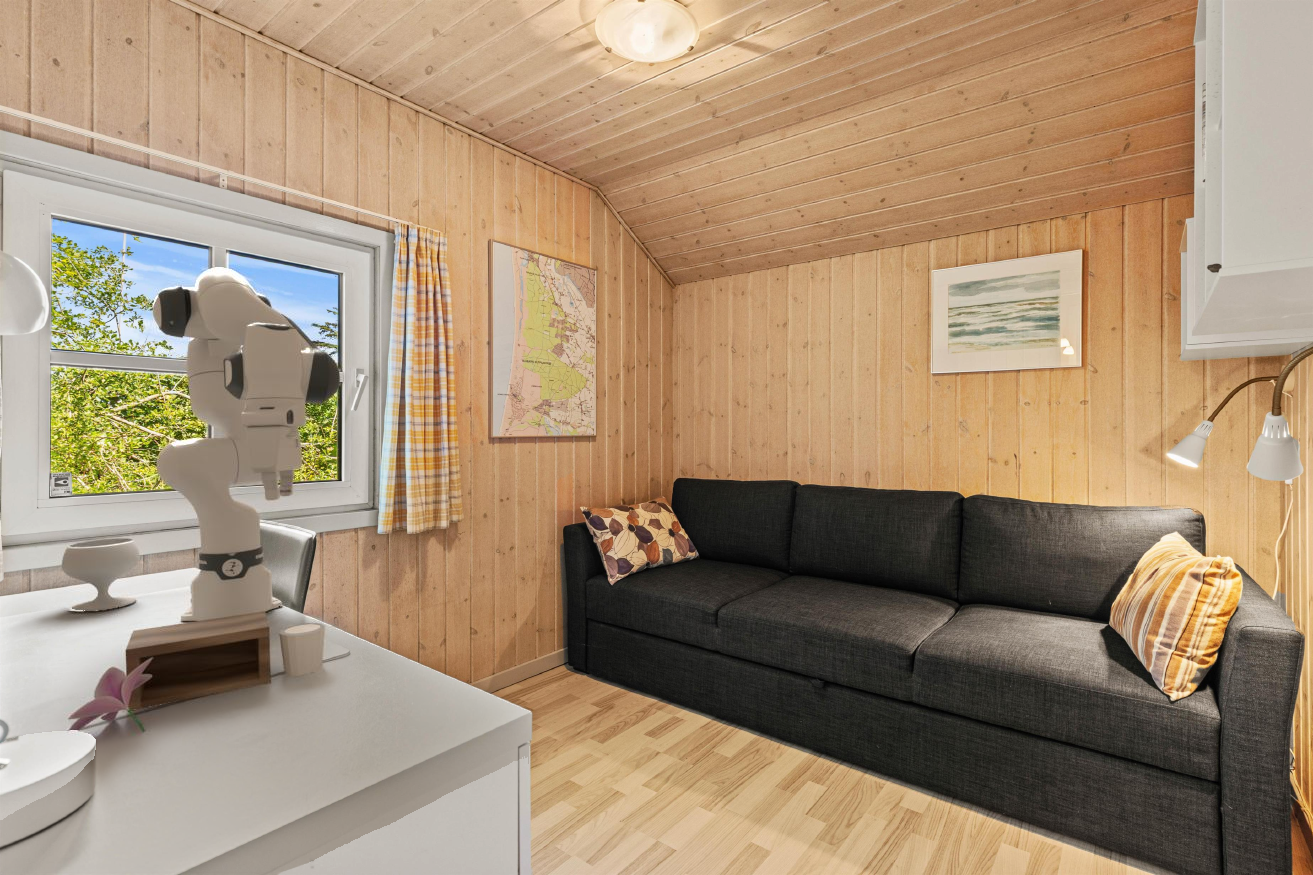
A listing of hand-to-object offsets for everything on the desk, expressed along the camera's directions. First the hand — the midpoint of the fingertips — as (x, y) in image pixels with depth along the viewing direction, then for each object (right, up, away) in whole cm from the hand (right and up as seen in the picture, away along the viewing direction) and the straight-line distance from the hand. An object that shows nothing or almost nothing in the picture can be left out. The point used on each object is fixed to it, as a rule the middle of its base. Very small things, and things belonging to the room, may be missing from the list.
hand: (279, 497), depth 112 cm
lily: (-9, -30, -23) cm, 39 cm away
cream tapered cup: (+5, -29, -1) cm, 30 cm away
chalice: (-65, -29, +41) cm, 82 cm away
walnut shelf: (-8, -29, -7) cm, 31 cm away
